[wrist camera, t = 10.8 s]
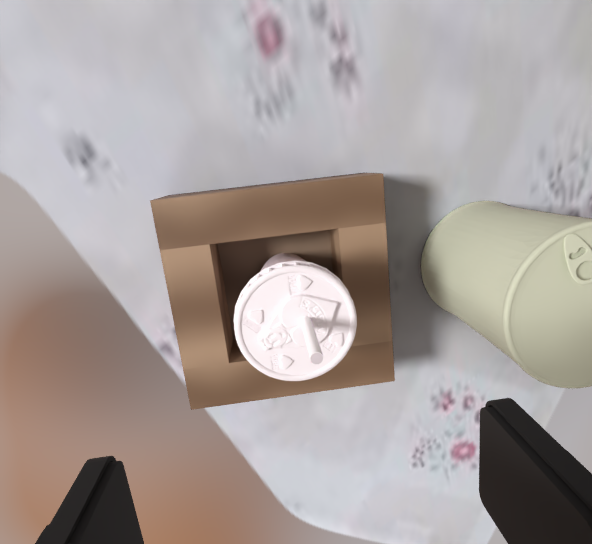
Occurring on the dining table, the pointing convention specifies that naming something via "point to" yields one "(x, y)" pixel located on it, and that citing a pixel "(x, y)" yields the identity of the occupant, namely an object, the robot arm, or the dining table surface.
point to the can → (518, 285)
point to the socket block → (249, 261)
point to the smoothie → (294, 319)
